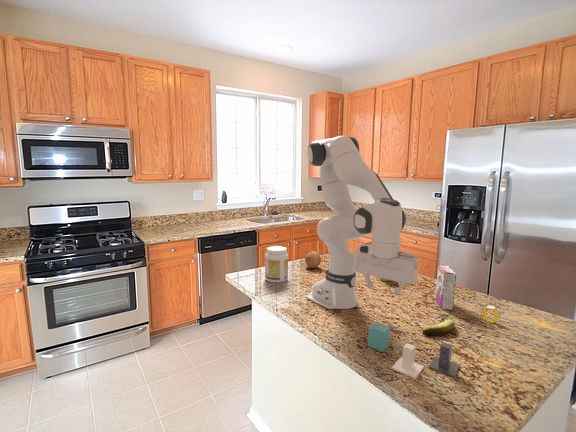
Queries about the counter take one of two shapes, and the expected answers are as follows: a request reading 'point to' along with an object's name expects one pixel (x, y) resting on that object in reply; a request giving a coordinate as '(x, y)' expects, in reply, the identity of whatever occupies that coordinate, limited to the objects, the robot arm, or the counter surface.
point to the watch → (493, 311)
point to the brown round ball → (312, 259)
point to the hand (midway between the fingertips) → (383, 290)
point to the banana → (432, 329)
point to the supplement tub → (276, 264)
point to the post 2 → (444, 361)
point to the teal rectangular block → (379, 336)
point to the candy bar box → (445, 287)
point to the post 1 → (408, 363)
